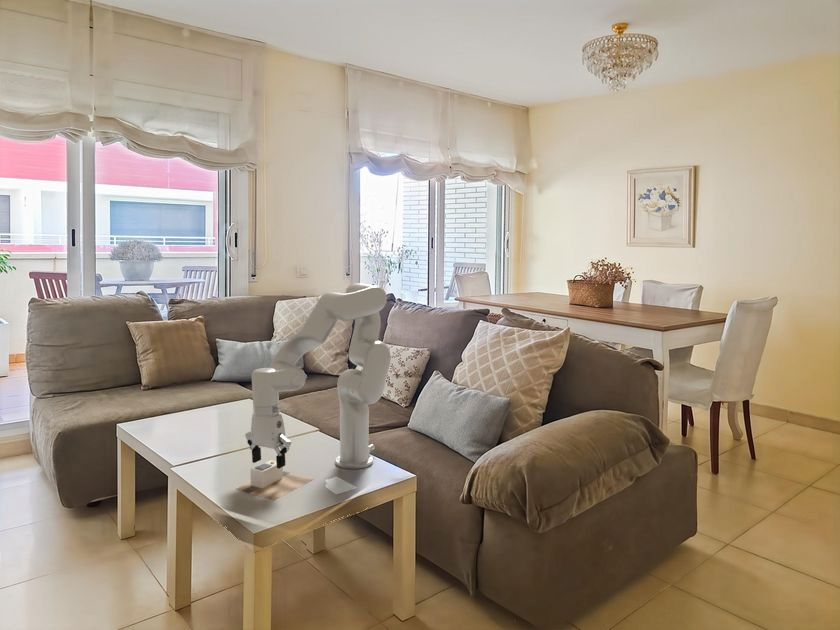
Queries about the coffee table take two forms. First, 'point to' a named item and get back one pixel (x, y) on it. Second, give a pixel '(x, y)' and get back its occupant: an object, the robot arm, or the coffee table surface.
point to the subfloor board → (277, 486)
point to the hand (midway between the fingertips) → (268, 464)
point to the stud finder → (266, 474)
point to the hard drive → (338, 485)
